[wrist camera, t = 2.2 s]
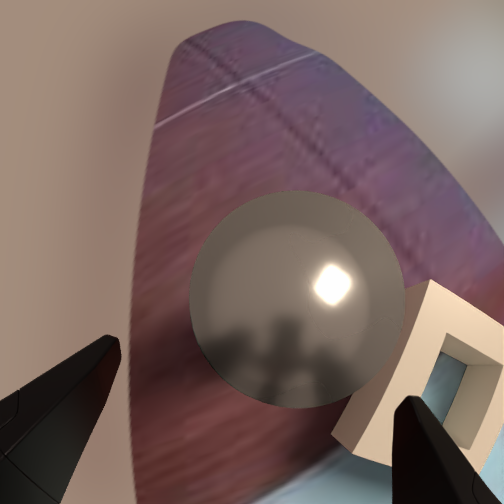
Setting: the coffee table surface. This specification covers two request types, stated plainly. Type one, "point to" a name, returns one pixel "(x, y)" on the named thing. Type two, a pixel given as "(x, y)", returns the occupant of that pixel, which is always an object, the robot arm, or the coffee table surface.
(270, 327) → the cylinder
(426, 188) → the coffee table surface
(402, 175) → the coffee table surface
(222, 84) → the coffee table surface
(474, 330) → the docking block
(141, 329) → the coffee table surface
